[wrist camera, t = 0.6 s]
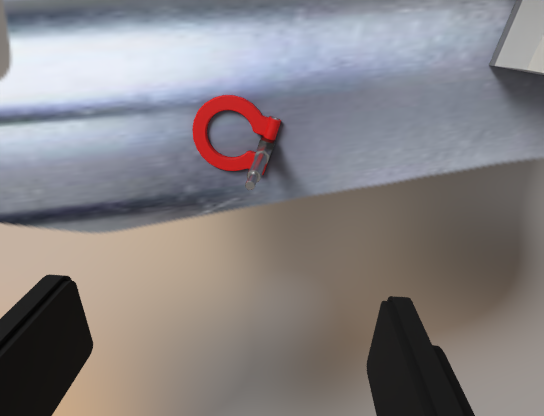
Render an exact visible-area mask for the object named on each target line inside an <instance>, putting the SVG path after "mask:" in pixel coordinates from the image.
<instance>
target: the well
mask: <svg viewBox="0 0 544 416" xmlns="http://www.w3.org/2000/svg"><path fill="white" fill-rule="evenodd" d="M489 65H491V66H496V67H501V68H507V69H512V70H518V71H523V72H529V73H534V74H539V75H544V0H516V2H515V5H514V7H513V10H512V12H511V14H510V17H509V19H508V21H507V24H506V26H505V28H504V31H503V33H502V36H501V38H500V40H499V43H498V45H497V47H496V50H495V52H494V55H493V57H492V59H491V62H490V64H489Z"/></svg>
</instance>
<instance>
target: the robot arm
mask: <svg viewBox="0 0 544 416" xmlns="http://www.w3.org/2000/svg"><path fill="white" fill-rule="evenodd" d="M92 349H93V341H92V337H91V334H90V330H89V327H88V324H87V320H86V316H85V313H84V310H83V306H82V303H81V300H80V296H79V292H78V289H77V285H76V283H75V282H74V281H72V280H71V278H70V277H69V276H60V275H46V276H45V277H43V278H42V279H41V280H40V281H39V282H38V283H37V284H36V285H35V286H34V287H33V288H32V289H31V290H30V291H29V292H28V293H27V294H26V295H25V296H24V297H23V298H21V300H19V301H18V302H17V303H16V304H15V305H14V306H13V307H12V308H11V309H10V310H9V311H8V312H7V313H6V314H5V315H4V316H3V317H2V318H1V319H0V416H52V414H53V413H54V411H55V409H56V408H57V406H58V405H59V403H60V402H61V400H62V398H63V397H64V395H65V394H66V392H67V390H68V389H69V388H70V386H71V384H72V383H73V381H74V380H75V378H76V376H77V375H78V373H79V372H80V370H81V368H82V367H83V365H84V364H85V362H86V361H87V359H88V358H89V356H90V354H91V352H92ZM367 374H368V379H369V383H370V388H371V392H372V397H373V401H374V406H375V410H376V414H377V416H475V415H474V413H473V411H472V409H471V407H470V405H469V403H468V401H467V398H466V397H465V394H464V392H463V390H462V388H461V387H460V384H459V382H458V380H457V378H456V376H455V374H454V372H453V370H452V368H451V366H450V363H449V362H448V359H447V357H446V355H445V353H444V352H443V350H442V349H441V348H440V347H439V346H434V345H432V344H431V342H430V340H429V337H428V335H427V333H426V331H425V329H424V326H423V324H422V322H421V320H420V318H419V316H418V314H417V311H416V309H415V307H414V305H413V302H412V301H411V299H410V298H407V297H392V296H390V297H389V298H388V300H387V301H382V303H381V306H380V310H379V315H378V319H377V323H376V327H375V331H374V335H373V339H372V343H371V347H370V352H369V356H368V360H367Z"/></svg>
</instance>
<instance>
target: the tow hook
mask: <svg viewBox="0 0 544 416" xmlns="http://www.w3.org/2000/svg"><path fill="white" fill-rule="evenodd" d="M224 110H232V111H236V112H239V113H240V114H242V115H244V116H245V117H246V118H247V119H248V121H249V122H250V124H251V126H252V129H253V131H254V132H255V133H257V134H260V135H263V136H262V137H261V139H260V142H259V145H258V148H257V151H256V152H253V151H247V152H246V153H245V154H243V155H241V156H238V157H227V156H224V155H222V154H220V153H218V152H217V151H216V150H215V149H214V148H213V147H212V145H211V144H210V142H209V139H208V136H207V128H208V123H209V121H210V119H211V118H212V117H213V116H214V115H215V114H216V113H218V112H220V111H224ZM280 123H281V120H280V119H278V118H276V117H271V116H270V117H269V118H268V117H265V116H262V114H261V112H260V111H259V110H258V109H257V108H256V107H255V106H254V105H253V104H252V103H251V102H249V101H248V100H246V99H244V98H242V97H238V96H235V95H222V96H219V97H215V98H213V99H211V100H210V101H208V102H206V103H205V104H204V105H203V106H202V107H201V108H200V109H199V111H198V112H197V115H196V117H195V119H194V123H193V139H194V142H195V145H196V147H197V149H198V151H199V152H200V154H201V155H202V157H203V158H204V159H205V160H206V161H207V162H209V163H210V164H211V165H213V166H215V167H217V168H219V169H223V170H226V171H238V170H243V169H246V168H247V169H250V170H249V172H248V174H247V179H248V180H247V182H246V184H245V186H246V188H247V189H248V190H252V189H254V187H255V185H256V183H257V182H259V180H260V178H261V175H264V172H265V169H266V166H267V163H268V162H269V159H270V156H271V153H272V150H273V147H274V144H275V138H276V135H277V132H278V129H279V126H280Z"/></svg>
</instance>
